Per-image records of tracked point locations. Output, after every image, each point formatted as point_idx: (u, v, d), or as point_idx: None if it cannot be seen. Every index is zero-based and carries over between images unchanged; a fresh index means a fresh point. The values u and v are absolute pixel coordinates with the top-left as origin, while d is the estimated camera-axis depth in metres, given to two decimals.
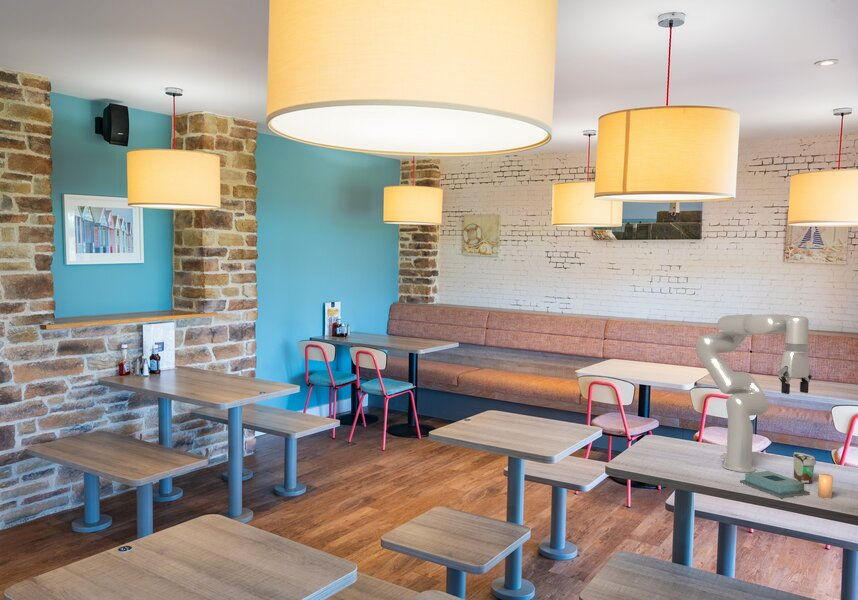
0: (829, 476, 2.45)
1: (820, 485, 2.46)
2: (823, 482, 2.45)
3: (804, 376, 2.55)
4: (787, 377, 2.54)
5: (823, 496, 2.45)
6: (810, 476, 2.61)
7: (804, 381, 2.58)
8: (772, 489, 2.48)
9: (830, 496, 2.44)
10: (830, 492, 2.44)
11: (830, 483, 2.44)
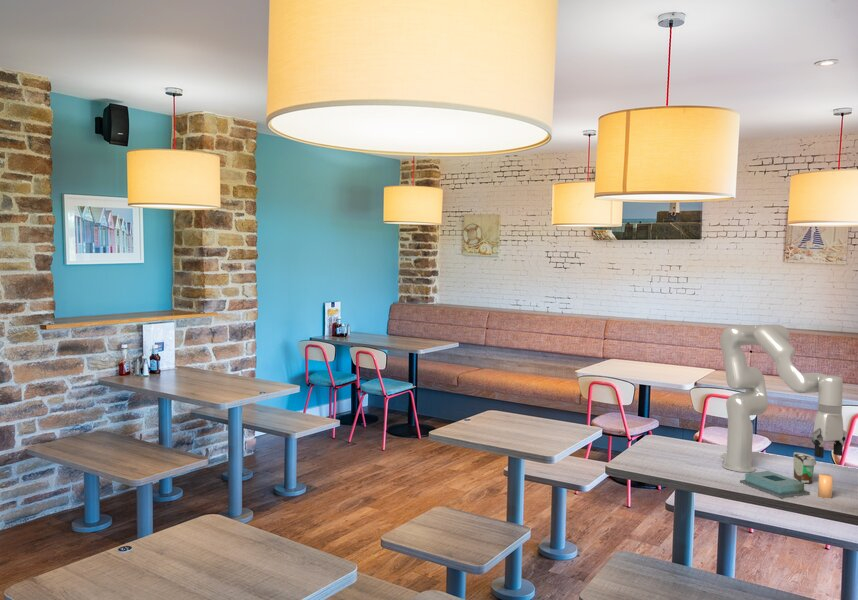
0: (829, 476, 2.45)
1: (820, 485, 2.46)
2: (823, 482, 2.45)
3: (838, 439, 2.44)
4: (821, 440, 2.43)
5: (823, 496, 2.45)
6: (810, 476, 2.61)
7: (838, 443, 2.47)
8: (772, 489, 2.48)
9: (830, 496, 2.44)
10: (830, 492, 2.44)
11: (830, 483, 2.44)
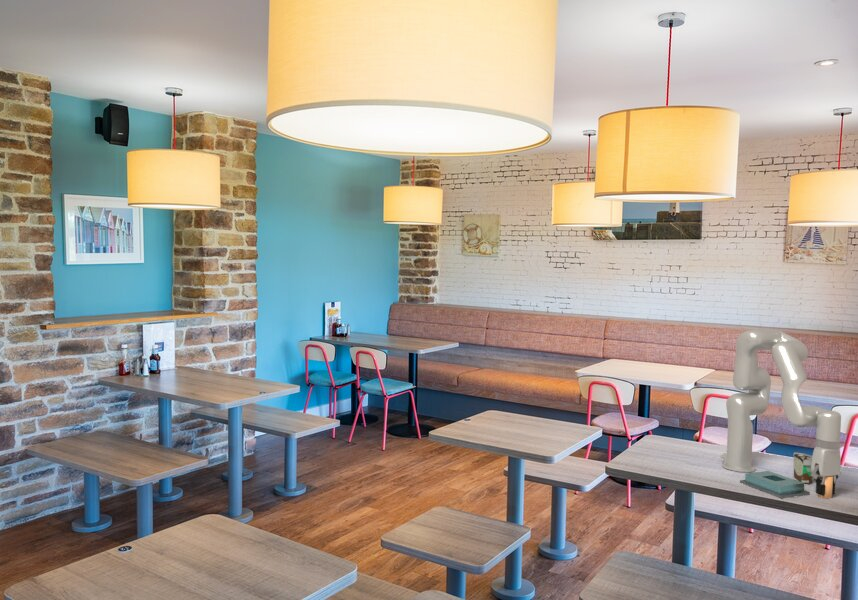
0: (829, 476, 2.45)
1: None
2: None
3: (835, 474, 2.45)
4: None
5: (823, 496, 2.45)
6: (810, 476, 2.61)
7: None
8: (772, 489, 2.48)
9: (830, 496, 2.44)
10: (830, 492, 2.44)
11: (830, 483, 2.44)
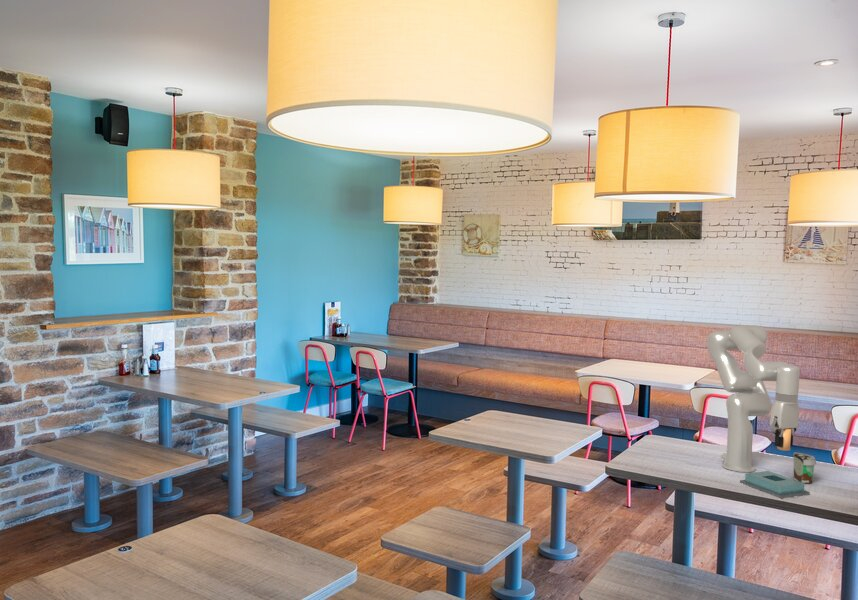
0: None
1: None
2: None
3: (793, 426, 2.52)
4: (779, 429, 2.51)
5: (781, 448, 2.51)
6: (810, 476, 2.61)
7: None
8: (772, 489, 2.48)
9: (788, 448, 2.51)
10: (788, 444, 2.51)
11: (788, 435, 2.50)
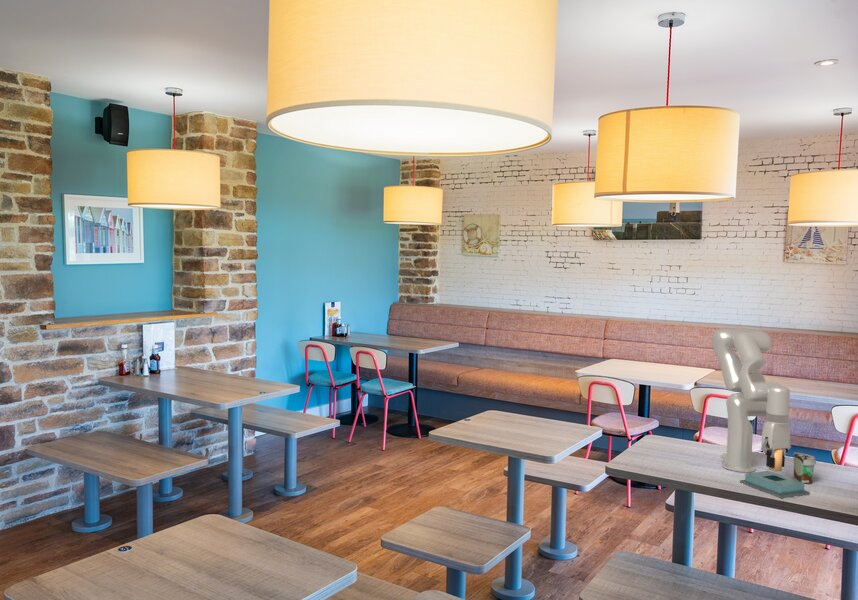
0: (779, 449, 2.53)
1: None
2: None
3: (785, 447, 2.53)
4: None
5: (773, 468, 2.52)
6: (810, 476, 2.61)
7: None
8: (772, 489, 2.48)
9: (780, 468, 2.52)
10: (780, 464, 2.52)
11: (780, 456, 2.52)
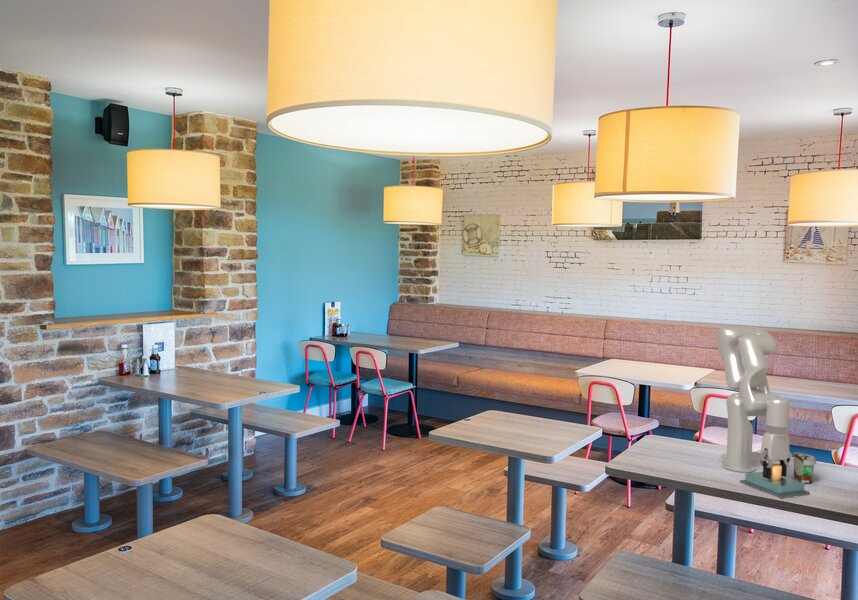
0: (778, 466, 2.53)
1: None
2: (772, 471, 2.53)
3: (784, 458, 2.53)
4: (768, 460, 2.52)
5: None
6: (810, 476, 2.61)
7: (782, 464, 2.55)
8: (772, 489, 2.48)
9: None
10: None
11: (779, 472, 2.52)
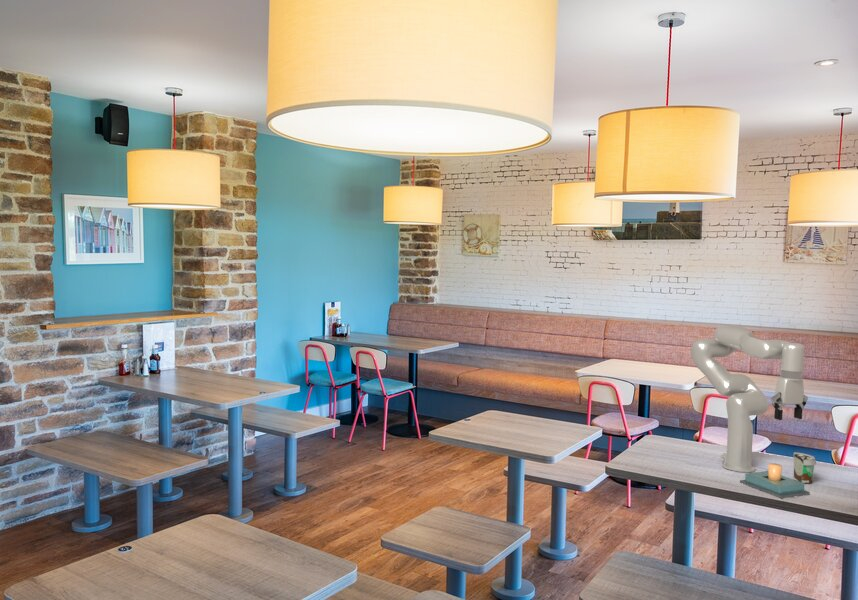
0: (778, 466, 2.53)
1: (769, 474, 2.54)
2: (772, 471, 2.53)
3: (798, 403, 2.58)
4: (780, 403, 2.57)
5: None
6: (810, 476, 2.61)
7: (798, 407, 2.60)
8: (772, 489, 2.48)
9: None
10: None
11: (779, 472, 2.52)
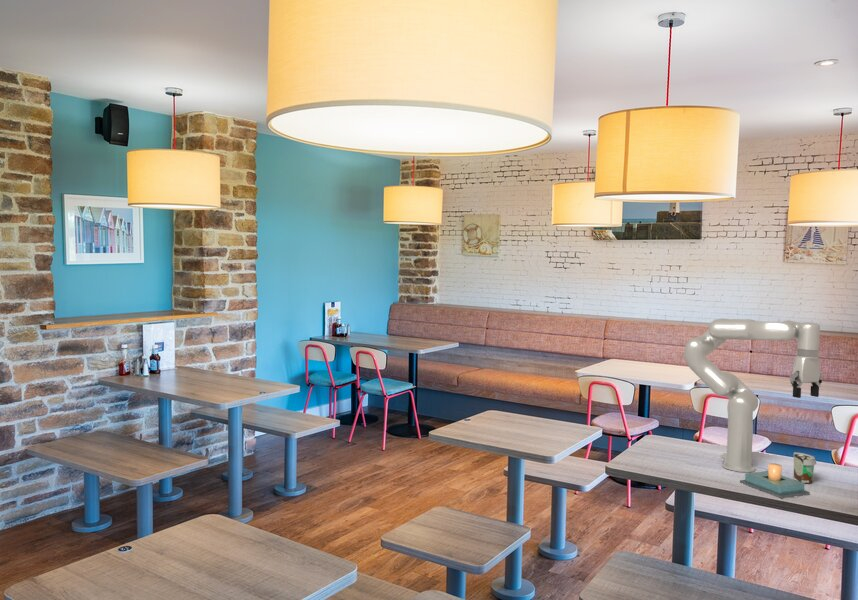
0: (778, 466, 2.53)
1: (769, 474, 2.54)
2: (772, 471, 2.53)
3: (815, 381, 2.64)
4: (798, 381, 2.63)
5: None
6: (810, 476, 2.61)
7: (815, 385, 2.67)
8: (772, 489, 2.48)
9: None
10: None
11: (779, 472, 2.52)
